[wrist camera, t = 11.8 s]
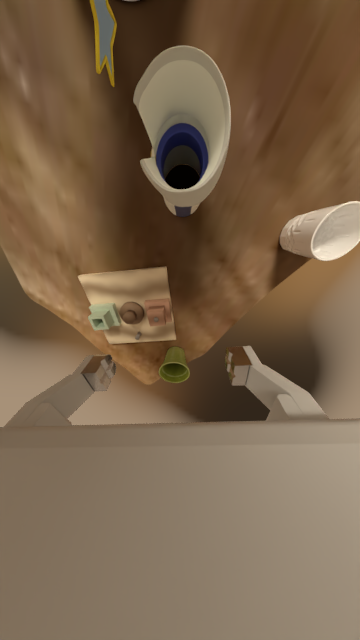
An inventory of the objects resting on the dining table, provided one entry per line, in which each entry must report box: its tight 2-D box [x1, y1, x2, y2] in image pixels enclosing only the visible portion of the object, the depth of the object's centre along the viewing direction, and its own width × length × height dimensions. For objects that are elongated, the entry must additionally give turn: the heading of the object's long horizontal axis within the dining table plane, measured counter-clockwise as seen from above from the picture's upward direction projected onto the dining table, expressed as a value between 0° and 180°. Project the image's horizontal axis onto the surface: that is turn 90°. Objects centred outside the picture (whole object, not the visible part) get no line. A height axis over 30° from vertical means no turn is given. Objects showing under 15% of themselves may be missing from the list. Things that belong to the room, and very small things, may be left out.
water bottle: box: [90, 0, 231, 217], centre depth 17 cm, size 8×9×25 cm
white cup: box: [280, 201, 360, 261], centre depth 26 cm, size 8×8×10 cm
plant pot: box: [159, 347, 190, 383], centre depth 46 cm, size 9×9×9 cm
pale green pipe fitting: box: [88, 303, 122, 330], centre depth 38 cm, size 6×6×5 cm
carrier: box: [78, 266, 176, 344], centre depth 38 cm, size 22×22×7 cm
